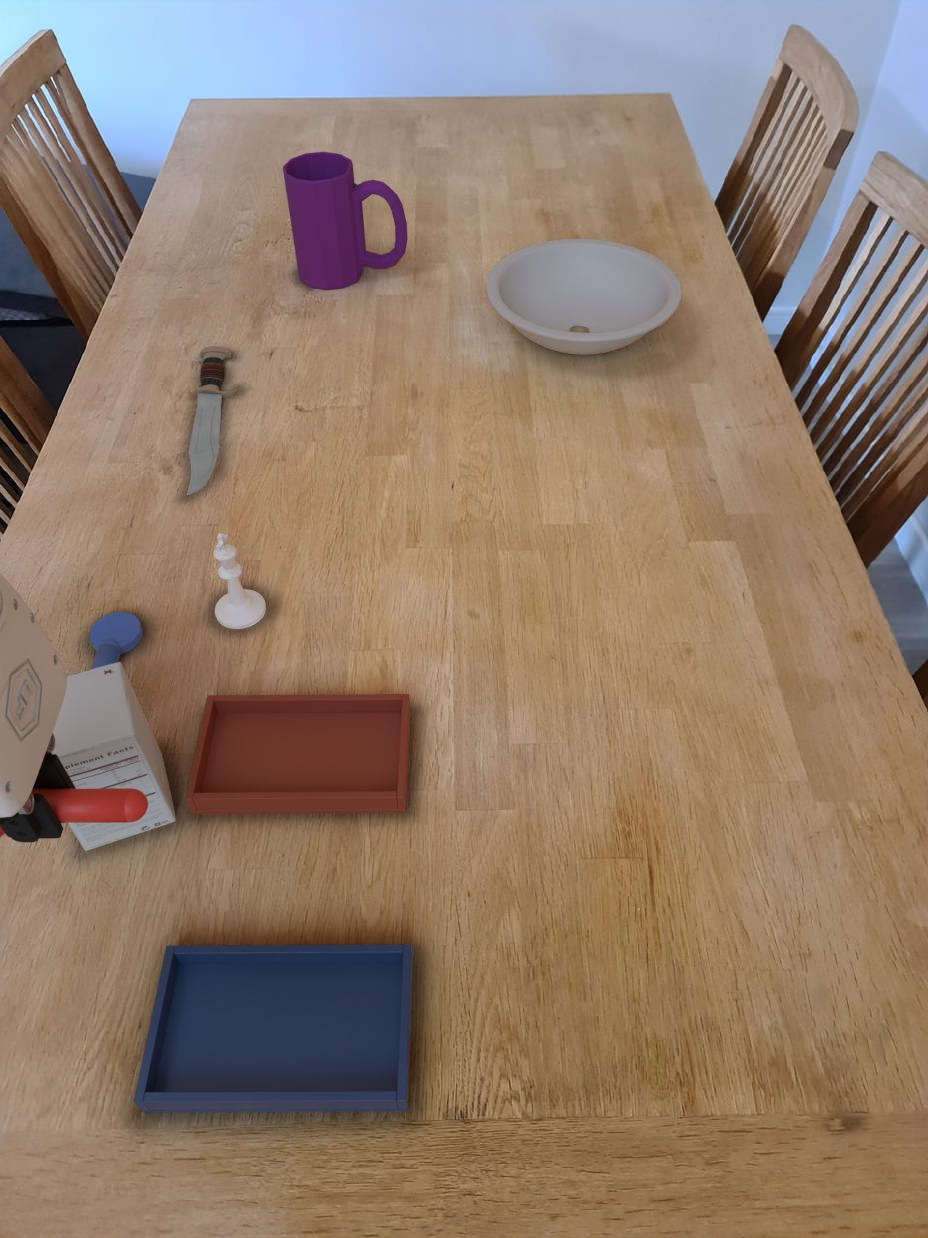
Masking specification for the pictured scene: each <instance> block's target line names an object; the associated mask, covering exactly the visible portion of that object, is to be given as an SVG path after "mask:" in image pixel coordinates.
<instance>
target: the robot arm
mask: <svg viewBox="0 0 928 1238" xmlns="http://www.w3.org/2000/svg"><path fill="white" fill-rule="evenodd" d="M67 676H68V675H67V671H66V669H65V665H64V664H63V661H62V660H61V657H60V656H59V654H58V652H57V651H56V648H55V646H54V645H53V642H52V641H51V639H50V638H49V636H48V635H47V632H46V631H45V629H44V628H43V626H42V625H41V623H40V622H39V620H38V618H37V616H35V614H34V612H33V610H32V609H31V608H30V606H29V605H28V604H27V602H26V601H25V600H24V598H23V597H22V596H21V594H19V592H18V590H16V589H15V587H14V586H13V585H12V584H11V583H10V582H9V580H7V578H5V576H3V575H2V574H1V573H0V827H1V828H2V829H3V831H4V832H5V834H4V835H5V836H7V837H8V838H10V839H11V840H13V841H15V842H18V843H36V842H38V841H39V839H43V840H44V839H60V838H61V837H62V835H63V831H64V827H63V823H60V822H59V820H58V819H57V816H56V814H55V813H54V811H53V810H52V808H51V806H50V805H49V803H48V802H47V800H46V798H45V797H44V795H42V794H39V793H32V789H76V787H75V786H74V784H73V782H72V780H71V779H70V777H69V775H68V773H67V772H66V770H65V768H64V766H63V765H62V763H61V761H60V759H59V758H58V756H57V754H52V752H53V750H54V747H55V736H54V734H53V730H54V727H55V724H56V721H57V718H58V715H59V712H60V709H61V706H62V703H63V699H64V696H65V692H66V686H67Z"/></svg>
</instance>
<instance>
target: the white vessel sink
mask: <svg viewBox="0 0 928 1238" xmlns="http://www.w3.org/2000/svg"><path fill="white" fill-rule="evenodd" d="M485 293H486V296H487V300H488V301H489V303H490V306H491V307H492V308H493V310H494V311H496V313H497V314H498V315H499V316H500V317H502V318H503V319H504V320H506V321H507V322H508V323H510V324H511V325H512V326H513V327H514V328H515V329H516V331H518V332H519V333H520V334H522V336H524V337H525V338H527V339H528V340H530V341H531V342H533V343H535V344H537V345H539V346H540V347H542V348H546V349H548V350H551V351H555V352H558V353H564V354H570V355H581V356H586V355H599V354H604V353H609V352H613V351H617V350H620V349H622V348H625V347H627V346H629V345H632V344H634V342H636V341H638V340H639V339H641V338H643V337H644V336H645V335H647V334H648V333H649V332H650V331H652V330H655V329H656V328H658V327H660V326H661V325H663V324H665V322H667V321H668V320H669V319H670V318H672V316H673V315H674V314H675V313H676V311H677V310H678V308H679V307H680V304H681V302H682V297H683V288H682V283H681V281H680V279H679V277H678V275H677V274H676V273H675V271H674V270H673V269H672V268H671V267H670V266H669V265H668V264H667V263H666V262H665V261H663V260H661V259H660V258H658V257H657V256H655V255H654V254H651V253H649V252H648V251H645V250H642V249H640V248H638V247H635V246H631V245H628V244H625V243H620V242H616V241H610V240H604V239H596V238H563V239H562V238H560V239H553V240H547V241H542V242H538V243H533V244H530V245H526V246H523V247H522V248H519V249H516V250H515V251H512V252H511V253H509V254H507V255H506V256H504V257H503V258H501V259H500V260H499V261H498V262H497V263H496V264H495V265H494V266H493V267H492V268H491V270H490V271H489V273H488V275H487V278H486V282H485ZM574 327H585V328H586V329H588V332H581V331H580V332H579V331H571V329H572V328H574Z"/></svg>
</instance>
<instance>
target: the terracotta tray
mask: <svg viewBox="0 0 928 1238" xmlns="http://www.w3.org/2000/svg"><path fill="white" fill-rule="evenodd" d="M410 696H411V695H410V694H409V693H354V694H353V693H351V694H348V693H347V694H344V693H343V694H342V693H341V694H332V693H331V694H233V695H232V694H227V695H226V694H223V695H222V694H217V695H214V694H209V695H207V697H206V701H205V706H204V709H203V714H202V719H201V724H200V729H199V733H198V737H197V741H196V746H195V749H194V750H195V751H194V756H193V760H192V764H191V768H190V773H189V778H188V783H187V787H186V791H185V796H184V801H185V803H186V805H187V808H188V810H189V812H190V815H317V814H320V815H321V814H322V815H324V814H325V815H329V814H333V815H334V814H335V815H336V814H406V813H407V805H408V803H407V802H408V781H409V780H408V779H409V762H410V761H409V759H410V737H411V713H412V709H411V697H410Z"/></svg>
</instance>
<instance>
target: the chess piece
mask: <svg viewBox="0 0 928 1238" xmlns="http://www.w3.org/2000/svg"><path fill="white" fill-rule="evenodd" d="M216 538H217V541H218V542H217V544H216V545H215V549H214V550H213V557H214V559H215V560H216V561H217V562H218V563H219V564H220V566H219V568H218V572H217V574H218V576H219V577H220V578H221V579H222V580H226V585H227V593H225V594H224V595H223V596H221V597H220V598H219V600H218V601H217V602H216V604H215V607H214V616H215V618H216V620H217V622H218V623H219V624H220V625H222V627H224V628H227V629H230V630H231V629H232V630H243V629H247V628H250V627H253V626H254V625H256V624H257V623H259V622H260V620H262V619H263V618H264V616H265V614H266V611H267V604H266V600H265V598H264V597H263V595H262V594H261V593H259V592H258V591H256V590H254V589H248V588H243V586H242V583H241V581H240V579H239V577H240V576H241V575H242V572H243V568H242V565H240V564H239V563H238V562H237V561H236V558H237V548H236V547H235V545H233V544H229V543H228V541H229V539H230V538H229V534H227V533H220V532H219V533H218V535H217V536H216Z"/></svg>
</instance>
